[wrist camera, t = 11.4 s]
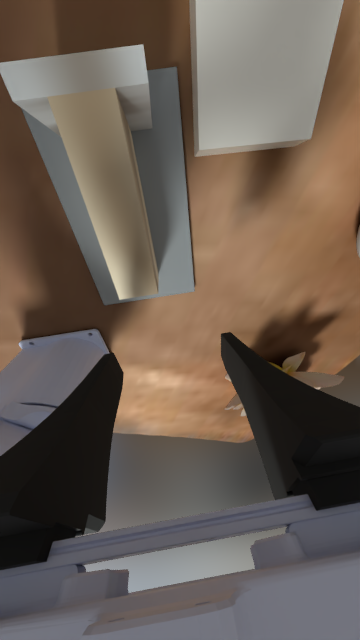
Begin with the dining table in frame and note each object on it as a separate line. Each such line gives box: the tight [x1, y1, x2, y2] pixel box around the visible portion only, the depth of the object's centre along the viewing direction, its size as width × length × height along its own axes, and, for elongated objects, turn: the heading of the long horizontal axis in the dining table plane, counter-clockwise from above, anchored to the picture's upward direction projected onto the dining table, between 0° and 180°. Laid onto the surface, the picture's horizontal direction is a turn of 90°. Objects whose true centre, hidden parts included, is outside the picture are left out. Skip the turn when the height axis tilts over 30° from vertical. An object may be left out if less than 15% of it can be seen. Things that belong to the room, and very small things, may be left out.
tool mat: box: [21, 67, 195, 305], centre depth 15 cm, size 10×15×1 cm, turn 7°
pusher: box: [0, 44, 159, 300], centre depth 12 cm, size 6×11×5 cm, turn 7°
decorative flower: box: [225, 352, 344, 416], centre depth 25 cm, size 15×11×10 cm
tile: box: [189, 0, 344, 157], centre depth 11 cm, size 8×2×7 cm
